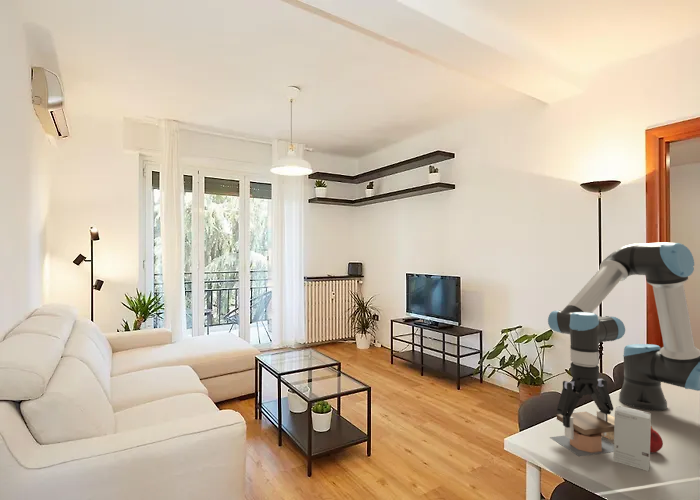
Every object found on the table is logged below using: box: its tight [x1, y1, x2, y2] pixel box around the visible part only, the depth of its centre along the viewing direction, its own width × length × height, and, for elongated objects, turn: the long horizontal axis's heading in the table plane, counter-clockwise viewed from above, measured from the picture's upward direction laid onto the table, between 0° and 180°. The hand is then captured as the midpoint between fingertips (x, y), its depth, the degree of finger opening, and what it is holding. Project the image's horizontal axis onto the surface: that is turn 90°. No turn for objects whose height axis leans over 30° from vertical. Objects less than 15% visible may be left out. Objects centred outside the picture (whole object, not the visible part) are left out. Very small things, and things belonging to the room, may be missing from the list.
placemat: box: [549, 435, 614, 457], centre depth 120 cm, size 16×12×1 cm
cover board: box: [556, 411, 614, 435], centre depth 119 cm, size 11×11×2 cm
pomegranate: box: [650, 425, 664, 454], centre depth 115 cm, size 6×6×8 cm
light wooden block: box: [595, 414, 615, 441], centre depth 126 cm, size 7×7×5 cm
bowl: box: [570, 429, 603, 453], centre depth 118 cm, size 8×8×4 cm
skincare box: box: [612, 405, 652, 472], centre depth 109 cm, size 8×6×15 cm
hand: (585, 435), depth 118 cm, fingers closed on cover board, 11 cm apart
